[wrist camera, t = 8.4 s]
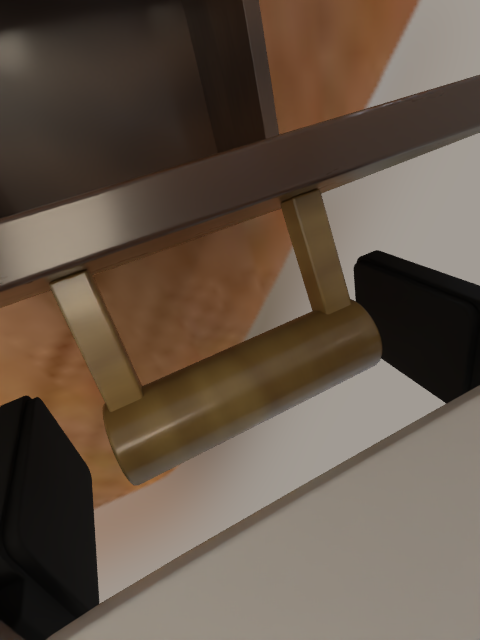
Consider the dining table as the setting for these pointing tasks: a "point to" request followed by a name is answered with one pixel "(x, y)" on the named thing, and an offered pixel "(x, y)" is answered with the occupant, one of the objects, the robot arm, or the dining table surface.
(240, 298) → the dining table surface
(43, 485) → the robot arm
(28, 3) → the chest
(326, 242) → the lid
